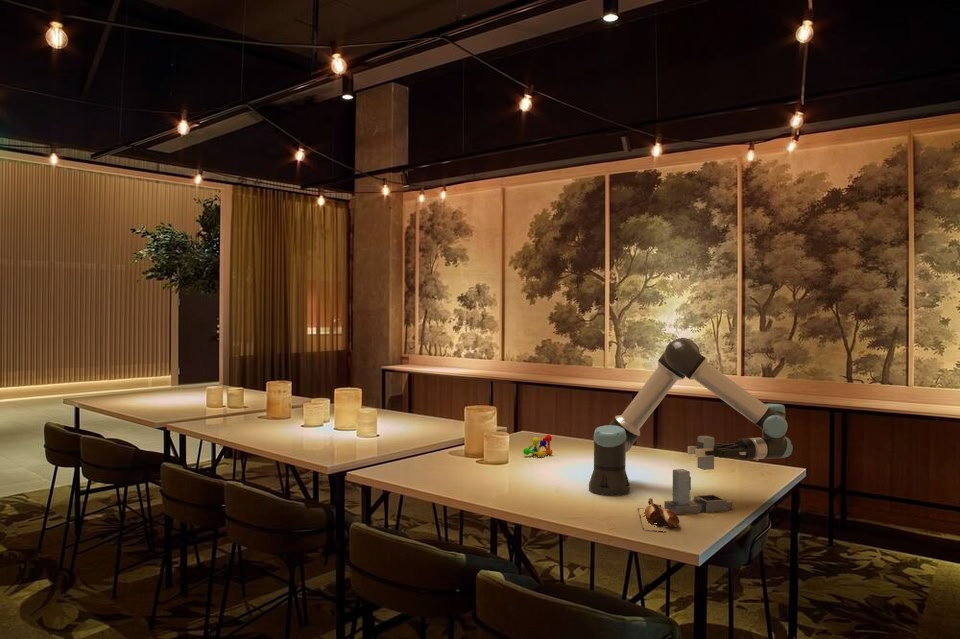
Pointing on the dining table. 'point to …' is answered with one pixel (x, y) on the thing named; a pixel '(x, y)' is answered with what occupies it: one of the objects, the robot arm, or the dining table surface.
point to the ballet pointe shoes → (660, 516)
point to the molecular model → (539, 446)
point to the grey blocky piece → (700, 502)
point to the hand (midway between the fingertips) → (692, 451)
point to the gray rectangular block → (705, 443)
